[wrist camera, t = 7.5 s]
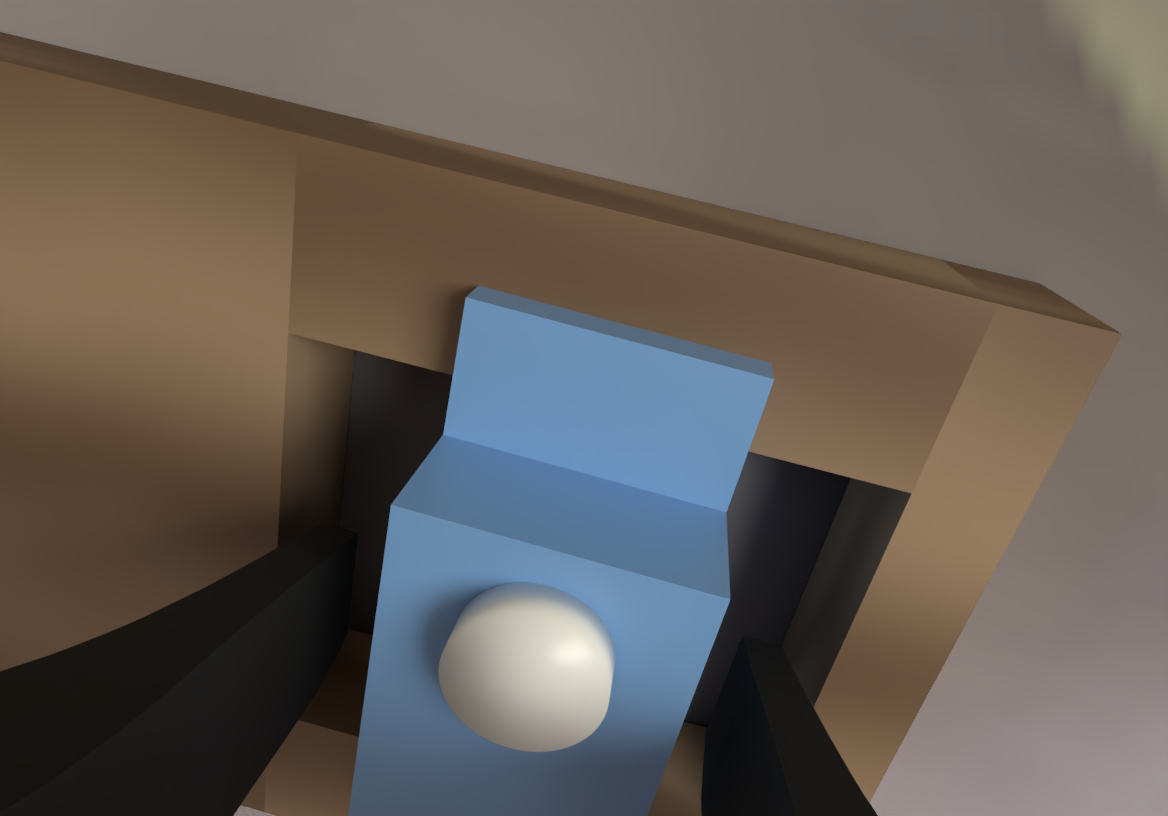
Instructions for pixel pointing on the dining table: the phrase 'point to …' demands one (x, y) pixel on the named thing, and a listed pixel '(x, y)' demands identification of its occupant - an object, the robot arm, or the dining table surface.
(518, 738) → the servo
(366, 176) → the plate
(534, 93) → the dining table surface
